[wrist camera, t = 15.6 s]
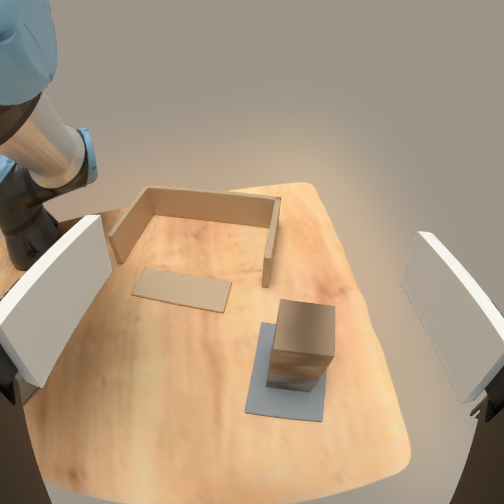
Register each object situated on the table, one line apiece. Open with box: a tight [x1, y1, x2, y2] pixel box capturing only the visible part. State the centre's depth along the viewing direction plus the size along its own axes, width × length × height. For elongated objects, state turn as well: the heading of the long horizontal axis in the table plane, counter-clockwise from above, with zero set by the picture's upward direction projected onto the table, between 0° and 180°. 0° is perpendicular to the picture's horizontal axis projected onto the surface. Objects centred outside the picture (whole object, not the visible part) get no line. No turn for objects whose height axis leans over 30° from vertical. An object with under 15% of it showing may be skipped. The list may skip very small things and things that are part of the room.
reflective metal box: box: [265, 299, 335, 392], centre depth 33 cm, size 6×6×12 cm
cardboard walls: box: [107, 185, 281, 313], centre depth 50 cm, size 28×22×7 cm
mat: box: [245, 322, 326, 421], centre depth 37 cm, size 10×14×1 cm
